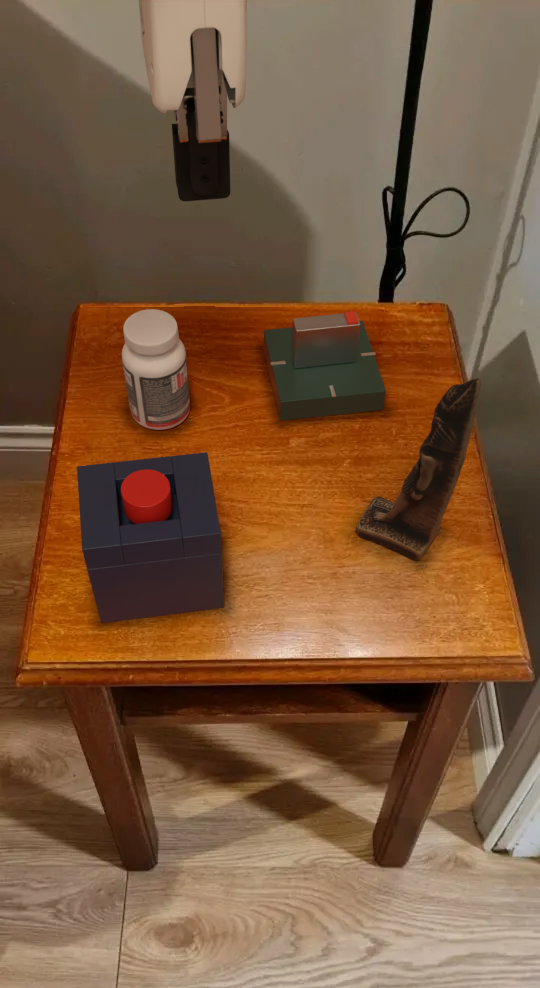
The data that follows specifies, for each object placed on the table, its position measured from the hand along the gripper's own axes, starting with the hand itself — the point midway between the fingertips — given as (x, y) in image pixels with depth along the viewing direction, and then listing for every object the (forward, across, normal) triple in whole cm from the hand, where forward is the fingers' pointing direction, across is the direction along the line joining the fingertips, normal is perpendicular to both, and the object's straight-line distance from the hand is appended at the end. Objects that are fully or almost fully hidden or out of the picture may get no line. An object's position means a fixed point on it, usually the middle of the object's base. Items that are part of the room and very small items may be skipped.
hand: (203, 191), depth 56 cm
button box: (+29, +8, -6) cm, 31 cm away
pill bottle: (+29, -11, -4) cm, 32 cm away
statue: (+29, +7, +15) cm, 34 cm away
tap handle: (+27, -13, +12) cm, 32 cm away
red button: (+20, +8, -6) cm, 22 cm away
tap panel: (+29, -13, +12) cm, 34 cm away
